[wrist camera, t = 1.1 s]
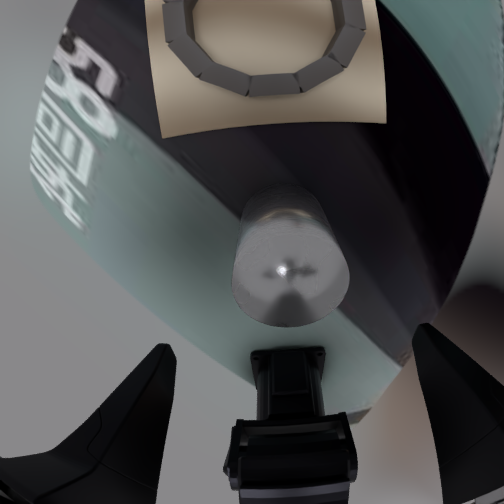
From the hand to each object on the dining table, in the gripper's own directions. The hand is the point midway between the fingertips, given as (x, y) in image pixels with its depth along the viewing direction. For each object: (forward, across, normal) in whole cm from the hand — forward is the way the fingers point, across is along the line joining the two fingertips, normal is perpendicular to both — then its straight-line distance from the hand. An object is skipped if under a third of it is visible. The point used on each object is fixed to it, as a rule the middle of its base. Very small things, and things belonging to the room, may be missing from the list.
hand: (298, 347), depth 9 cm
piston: (+9, 0, 0) cm, 9 cm away
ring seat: (+9, 0, -12) cm, 15 cm away
